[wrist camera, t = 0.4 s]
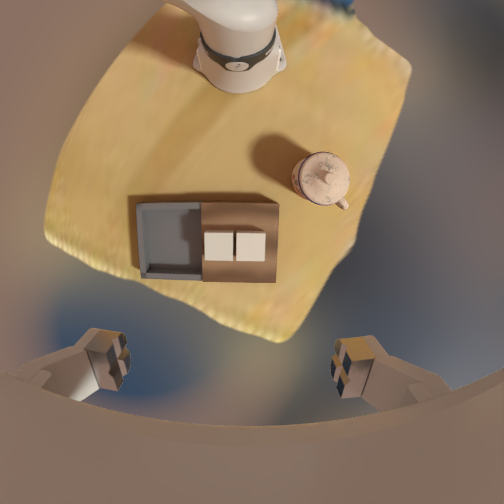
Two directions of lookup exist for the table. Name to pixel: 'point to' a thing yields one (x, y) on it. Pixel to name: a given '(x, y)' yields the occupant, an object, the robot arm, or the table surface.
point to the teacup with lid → (322, 179)
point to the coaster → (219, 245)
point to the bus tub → (170, 240)
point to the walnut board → (241, 219)
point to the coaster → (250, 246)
